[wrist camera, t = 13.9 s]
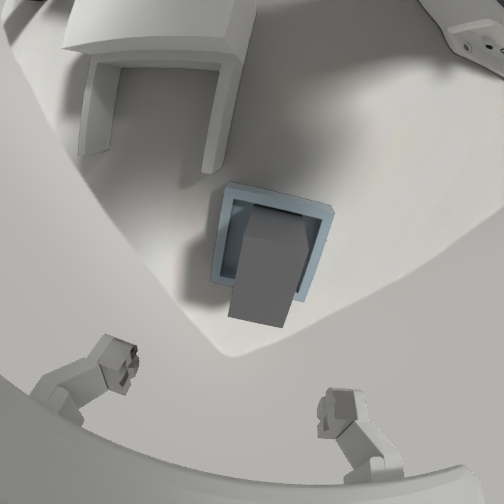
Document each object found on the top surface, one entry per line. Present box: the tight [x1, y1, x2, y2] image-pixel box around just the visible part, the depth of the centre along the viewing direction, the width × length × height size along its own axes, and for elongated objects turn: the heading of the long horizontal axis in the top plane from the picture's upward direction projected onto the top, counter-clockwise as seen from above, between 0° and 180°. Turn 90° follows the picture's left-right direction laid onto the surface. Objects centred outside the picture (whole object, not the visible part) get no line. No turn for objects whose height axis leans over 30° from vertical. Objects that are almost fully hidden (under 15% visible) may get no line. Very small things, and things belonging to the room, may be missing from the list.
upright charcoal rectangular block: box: [228, 203, 309, 328], centre depth 27 cm, size 5×8×9 cm, turn 169°
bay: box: [60, 0, 257, 175], centre depth 20 cm, size 15×18×10 cm
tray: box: [210, 182, 335, 302], centre depth 30 cm, size 11×11×2 cm
